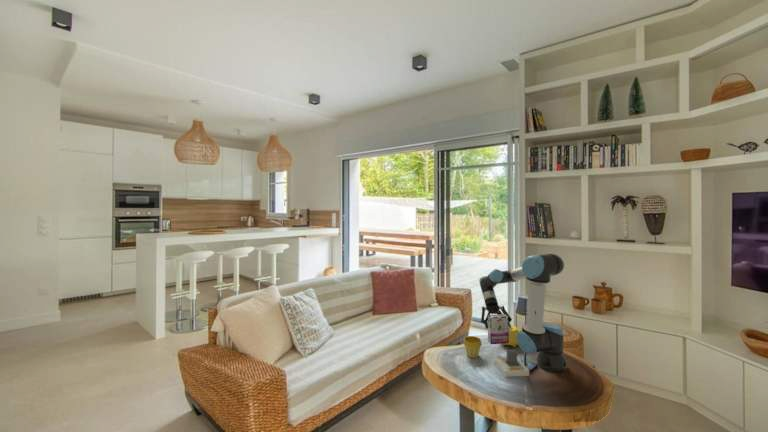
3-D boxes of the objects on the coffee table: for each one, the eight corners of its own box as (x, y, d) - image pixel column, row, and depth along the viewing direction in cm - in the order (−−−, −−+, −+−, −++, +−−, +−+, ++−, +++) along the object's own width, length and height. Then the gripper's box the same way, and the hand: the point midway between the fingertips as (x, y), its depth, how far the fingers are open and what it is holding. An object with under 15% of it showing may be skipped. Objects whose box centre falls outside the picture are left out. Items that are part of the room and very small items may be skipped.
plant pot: (479, 351, 204) (478, 335, 203) (483, 359, 193) (483, 342, 193) (462, 351, 204) (462, 335, 204) (466, 359, 194) (465, 343, 193)
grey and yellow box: (493, 337, 224) (493, 319, 224) (525, 342, 215) (525, 323, 215) (491, 345, 212) (490, 326, 211) (524, 350, 203) (524, 331, 203)
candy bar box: (505, 340, 200) (505, 313, 199) (508, 343, 195) (508, 316, 194) (487, 341, 199) (487, 314, 198) (490, 344, 194) (490, 317, 193)
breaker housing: (516, 362, 189) (516, 354, 189) (529, 375, 174) (529, 367, 174) (494, 362, 189) (494, 355, 188) (505, 376, 174) (505, 368, 173)
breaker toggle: (515, 362, 182) (515, 349, 182) (518, 365, 178) (518, 353, 178) (504, 362, 182) (504, 350, 182) (507, 366, 178) (507, 353, 178)
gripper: (506, 301, 211) (517, 335, 197) (470, 302, 211) (478, 336, 196) (510, 296, 206) (521, 330, 191) (473, 297, 205) (481, 331, 190)
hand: (499, 333), depth 193 cm, fingers closed on candy bar box, 11 cm apart
